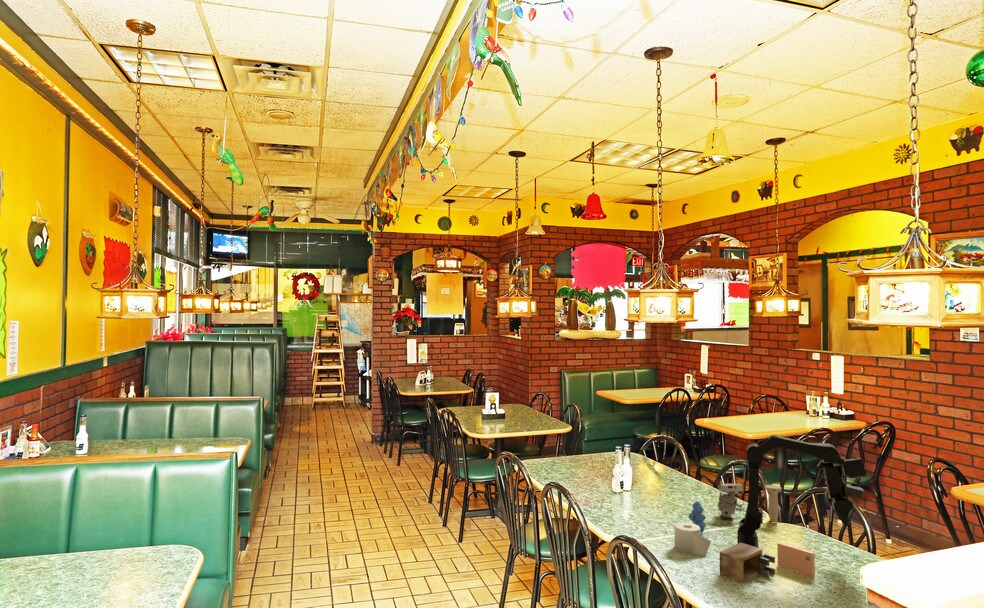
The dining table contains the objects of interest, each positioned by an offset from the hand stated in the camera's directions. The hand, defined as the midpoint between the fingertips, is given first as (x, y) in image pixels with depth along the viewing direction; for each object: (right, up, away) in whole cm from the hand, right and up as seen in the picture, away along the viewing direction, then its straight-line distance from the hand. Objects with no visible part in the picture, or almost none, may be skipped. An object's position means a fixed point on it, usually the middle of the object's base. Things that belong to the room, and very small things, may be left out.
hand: (843, 522), depth 219 cm
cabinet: (-42, -14, -11) cm, 46 cm away
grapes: (-44, -15, +30) cm, 55 cm away
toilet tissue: (-53, -14, +9) cm, 55 cm away
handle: (-5, -16, +43) cm, 46 cm away
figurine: (-22, -16, +48) cm, 55 cm away
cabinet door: (-22, -14, -8) cm, 27 cm away
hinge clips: (-34, -14, -12) cm, 38 cm away
